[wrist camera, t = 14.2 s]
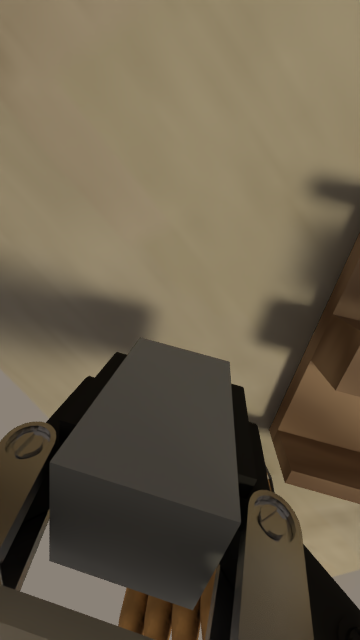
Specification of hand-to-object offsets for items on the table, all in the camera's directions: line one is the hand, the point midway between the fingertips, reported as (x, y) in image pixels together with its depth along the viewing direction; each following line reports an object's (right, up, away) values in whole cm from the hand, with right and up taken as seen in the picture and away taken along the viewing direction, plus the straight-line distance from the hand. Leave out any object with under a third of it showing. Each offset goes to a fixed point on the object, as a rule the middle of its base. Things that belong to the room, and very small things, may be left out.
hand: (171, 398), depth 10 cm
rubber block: (0, 0, +1) cm, 1 cm away
